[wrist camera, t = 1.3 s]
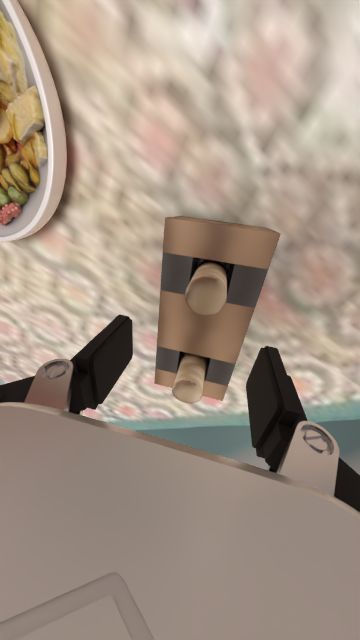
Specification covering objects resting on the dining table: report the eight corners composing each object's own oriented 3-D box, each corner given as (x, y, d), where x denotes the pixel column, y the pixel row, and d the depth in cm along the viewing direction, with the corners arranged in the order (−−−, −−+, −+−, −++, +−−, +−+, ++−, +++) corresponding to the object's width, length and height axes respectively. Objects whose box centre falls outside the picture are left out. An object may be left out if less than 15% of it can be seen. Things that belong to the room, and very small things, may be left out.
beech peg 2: (209, 349, 31) (204, 386, 24) (204, 367, 33) (199, 406, 27) (185, 343, 32) (173, 378, 25) (182, 361, 34) (171, 398, 27)
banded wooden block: (266, 228, 26) (280, 233, 19) (223, 368, 39) (222, 400, 32) (180, 216, 28) (165, 217, 21) (166, 354, 41) (154, 383, 34)
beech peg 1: (230, 261, 24) (231, 280, 17) (223, 291, 26) (221, 318, 19) (198, 256, 25) (187, 273, 18) (194, 286, 27) (182, 311, 20)
